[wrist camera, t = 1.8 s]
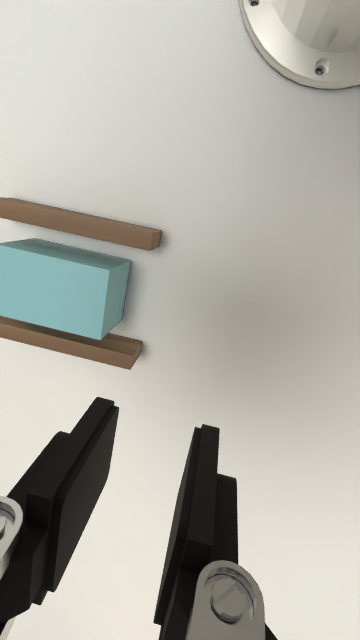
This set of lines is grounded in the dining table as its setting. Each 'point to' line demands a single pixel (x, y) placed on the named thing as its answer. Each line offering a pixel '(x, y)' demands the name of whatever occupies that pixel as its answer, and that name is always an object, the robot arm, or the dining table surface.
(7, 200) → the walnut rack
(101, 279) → the teal block
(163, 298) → the dining table surface
